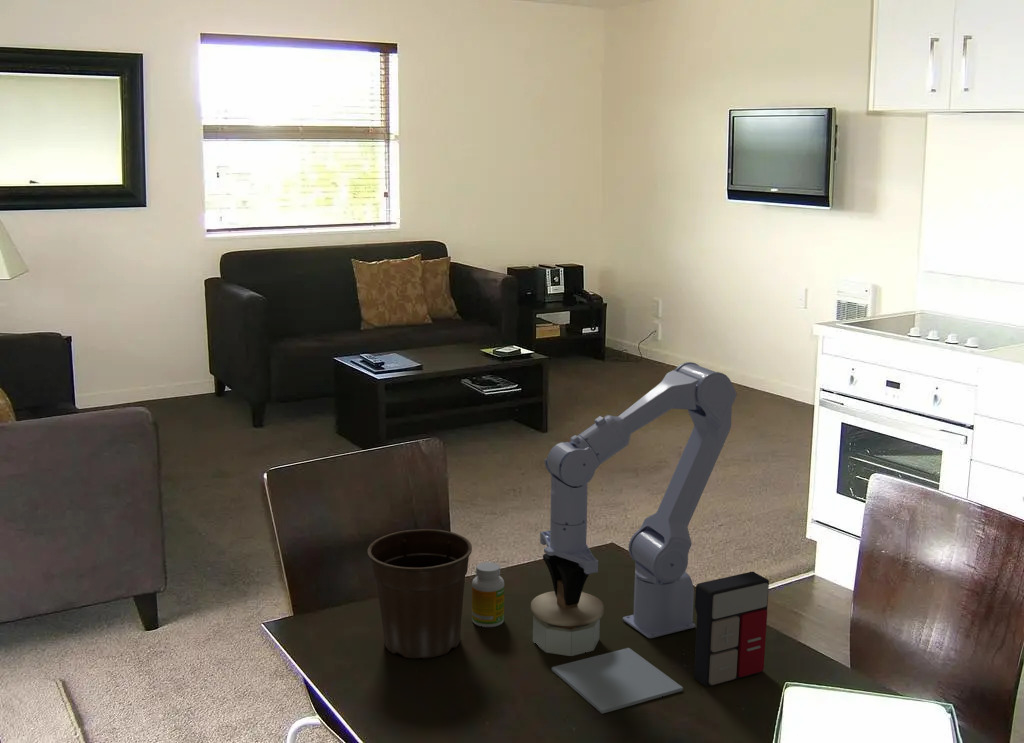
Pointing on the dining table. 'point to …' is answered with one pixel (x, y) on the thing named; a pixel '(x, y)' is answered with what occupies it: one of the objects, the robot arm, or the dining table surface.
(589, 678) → the mat
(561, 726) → the dining table surface
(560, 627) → the ball
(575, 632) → the bowl
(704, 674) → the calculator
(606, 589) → the dining table surface
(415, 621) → the plant pot
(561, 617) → the lid
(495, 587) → the supplement bottle
